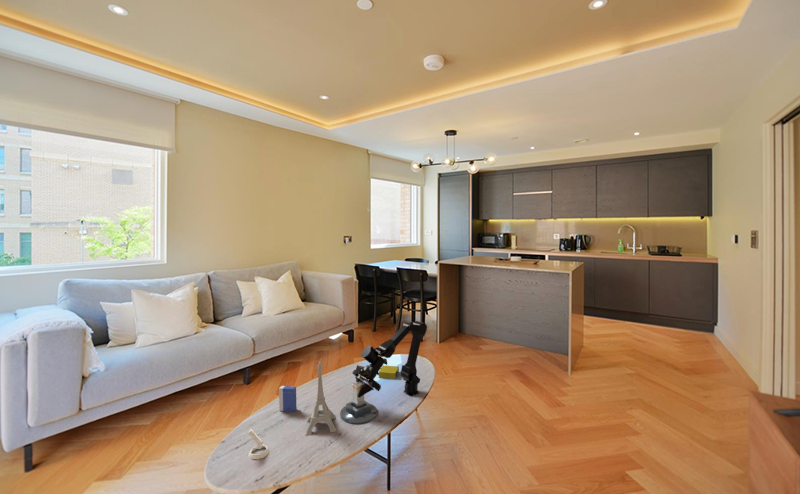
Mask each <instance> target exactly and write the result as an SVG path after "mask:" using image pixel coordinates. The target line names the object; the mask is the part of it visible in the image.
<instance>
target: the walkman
mask: <svg viewBox="0 0 800 494" xmlns="http://www.w3.org/2000/svg"><path fill="white" fill-rule="evenodd" d="M278 389H279V390H278V398H279V400H278V401H279V407H278V408H279V412H287V413H288V412H289V413H295V412H296V411H297V386H294V385H291V386H289V385H281V386H280V387H279V388H278Z"/></svg>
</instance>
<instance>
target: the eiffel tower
mask: <svg viewBox="0 0 800 494" xmlns="http://www.w3.org/2000/svg"><path fill="white" fill-rule="evenodd" d="M317 371H318V376H317V377H318V380H317V382H318V383H317V395H316V396H317V397H315V405H314V407H313V408H312V409H311V413H310V414H309V416H308V417H307V418H306V423H308V424H309V425H308V426H307V428H306V431H305V433H304V434H305V436H312V433H313V431H312V430H313V428H314V426H315V425H316V424H318V423H325V424H327V426H328V428H329V433H334V432H336V431H337V427H336V426H335V425H334V423H333V420H334V419H336V414H334V413H333V412H332V410H330V407H329V406H328V405H327V403H326V397H325V395H324V388H323V387H324V385H323V375H322V374H323V373H322V371H323V364H322V362H321V361H319V362H318V365H317ZM319 406H321V407H320V408H319Z"/></svg>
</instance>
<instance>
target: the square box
mask: <svg viewBox="0 0 800 494" xmlns="http://www.w3.org/2000/svg"><path fill="white" fill-rule="evenodd" d="M363 386H364V384H363V383H362V382H360V381H359V382H356V381H355V382H354V383H352V402H353V407H355V408H356V409H358V408H361V407H363V406H364V400H365V394H364V395H363V396H361V397H360V398H359V397H358V395H359V393H360V391H361V389H362V388H363Z"/></svg>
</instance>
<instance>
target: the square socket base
mask: <svg viewBox="0 0 800 494" xmlns="http://www.w3.org/2000/svg"><path fill="white" fill-rule="evenodd" d="M339 413H340V418H341V420H342V421H343V422H346V423H348V424H351V425H352V424H353V425H361V424H365V423H368V422H371V421H373V420H374V419H375V418H376V417H377V415H378V409H377V407H376V406H375V405H374V404H372V403H370V402H368V401H366V400H365V399H364V406H363V407H361V408H358V409H356V408H355V407H353V401H351V402H347V403H345V406H343V408H341V410H340V412H339Z"/></svg>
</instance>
